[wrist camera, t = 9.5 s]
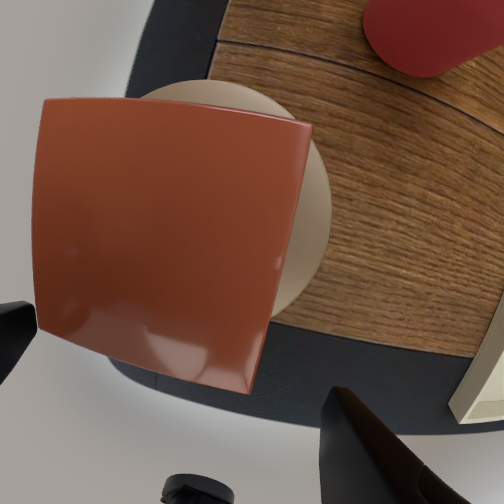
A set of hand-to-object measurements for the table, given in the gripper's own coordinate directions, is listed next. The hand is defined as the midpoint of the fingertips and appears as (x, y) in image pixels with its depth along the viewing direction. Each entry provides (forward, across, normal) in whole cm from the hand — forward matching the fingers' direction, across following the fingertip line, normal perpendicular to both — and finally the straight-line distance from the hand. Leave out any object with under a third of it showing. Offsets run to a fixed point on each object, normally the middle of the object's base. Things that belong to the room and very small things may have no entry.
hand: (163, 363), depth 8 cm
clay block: (+1, 0, -4) cm, 4 cm away
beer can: (+13, -8, -17) cm, 23 cm away
